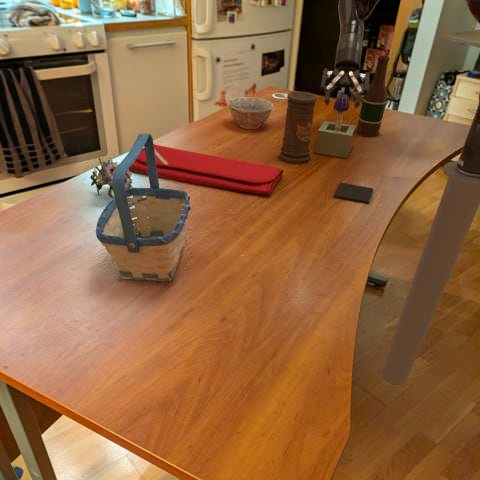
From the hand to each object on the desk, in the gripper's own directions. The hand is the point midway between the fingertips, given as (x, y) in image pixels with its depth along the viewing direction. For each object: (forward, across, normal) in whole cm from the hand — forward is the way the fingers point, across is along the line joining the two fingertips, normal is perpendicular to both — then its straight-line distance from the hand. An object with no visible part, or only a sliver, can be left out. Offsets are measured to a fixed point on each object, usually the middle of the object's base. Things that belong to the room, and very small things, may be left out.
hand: (341, 105), depth 139 cm
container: (+16, -12, +4) cm, 21 cm away
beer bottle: (-5, +12, +25) cm, 28 cm away
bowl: (-2, -30, +22) cm, 37 cm away
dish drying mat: (+30, -36, -10) cm, 48 cm away
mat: (+31, +6, -12) cm, 34 cm away
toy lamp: (+9, 0, +11) cm, 14 cm away
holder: (+9, 0, +10) cm, 14 cm away
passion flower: (+44, -55, -24) cm, 75 cm away
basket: (+64, -37, -44) cm, 85 cm away
